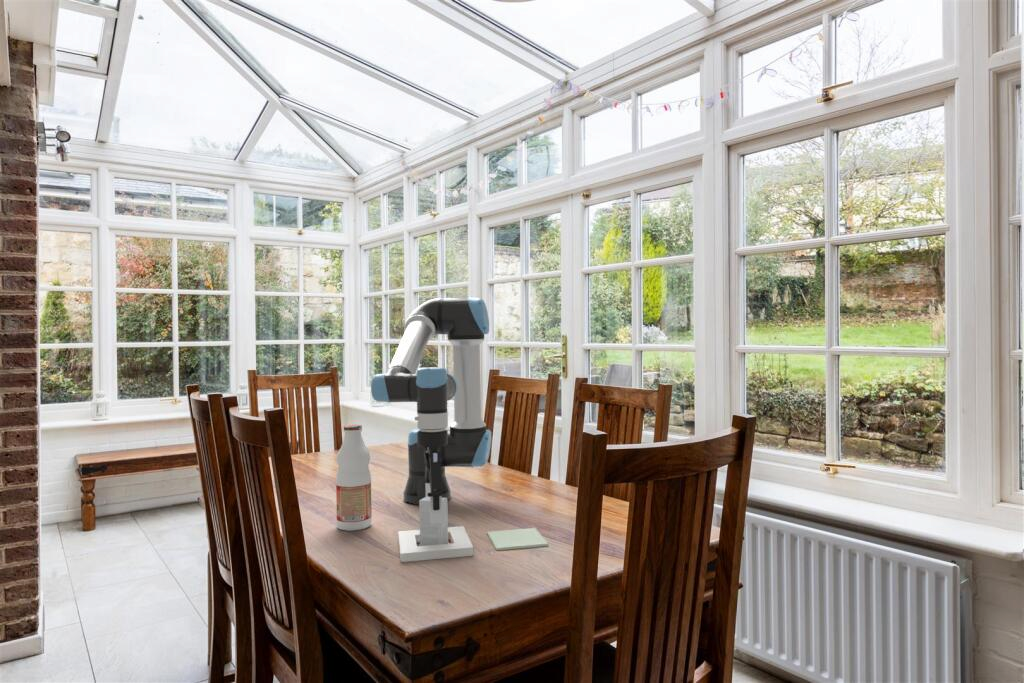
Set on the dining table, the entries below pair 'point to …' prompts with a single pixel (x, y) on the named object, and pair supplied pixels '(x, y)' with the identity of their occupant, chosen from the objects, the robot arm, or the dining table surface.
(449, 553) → the white frame
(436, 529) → the skincare box
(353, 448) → the fruit juice
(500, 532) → the pad
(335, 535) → the dining table surface
